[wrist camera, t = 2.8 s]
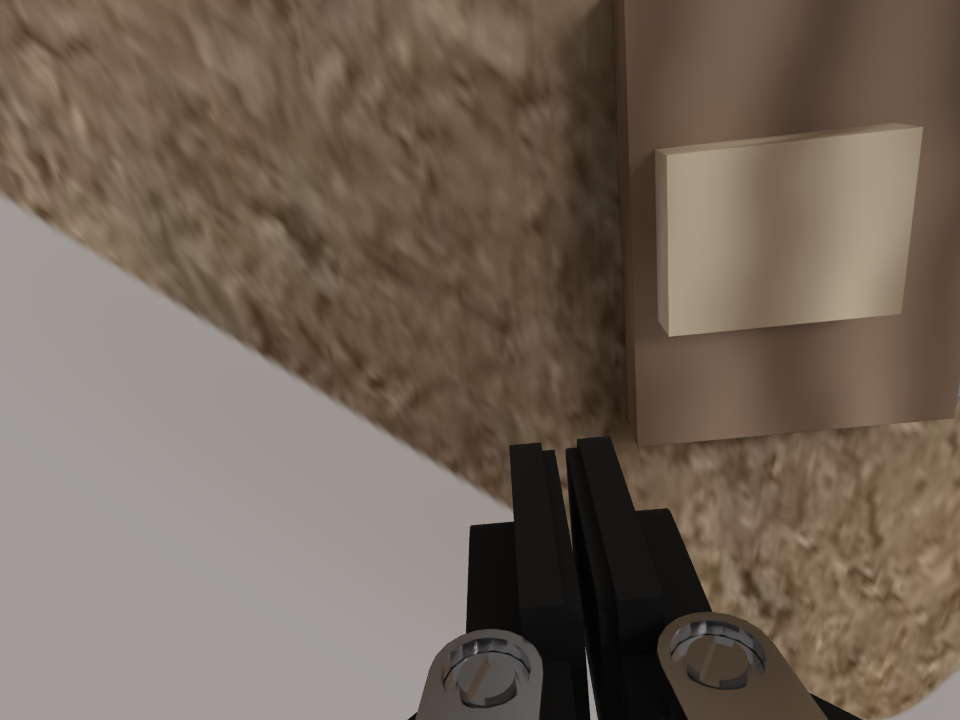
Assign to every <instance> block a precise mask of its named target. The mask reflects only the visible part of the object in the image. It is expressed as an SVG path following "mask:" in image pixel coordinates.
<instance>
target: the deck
mask: <svg viewBox="0 0 960 720" xmlns="http://www.w3.org/2000/svg"><path fill="white" fill-rule="evenodd" d="M613 20H614V48H615V76H616V103H617V131H618V159H619V187H620V215H621V243H622V270H623V298H624V326H625V354H626V382H627V410H628V423H629V426H630V428H631V431H632V433H633V436H634V438H635V441H636V443H637V446H638V447H642V446H653V445H664V444H675V443H686V442H697V441H708V440H719V439H730V438H741V437H752V436H763V435H774V434H785V433H796V432H807V431H818V430H829V429H840V428H851V427H862V426H873V425H885V424H896V423H907V422H918V421H929V420H940V419H951V418H955V411H956V405H957V399H958V392H959V386H960V0H613ZM888 123H898V124H906V125H913V126H921V127H923V133H922V141H921V150H920V159H919V167H918V176H917V184H916V193H915V201H914V210H913V218H912V227H911V235H910V244H909V252H908V261H907V270H906V278H905V287H904V295H903V304H902V312H901V314H895V315H885V316H875V317H865V318H855V319H844V320H834V321H824V322H814V323H804V324H793V325H783V326H773V327H763V328H753V329H742V330H732V331H722V332H712V333H702V334H691V335H681V336H671V337H669V336H668V335H667V333H666V332H665V330H664V329H663V327H662V326H661V324H660V323H659V321H658V298H657V240H656V183H655V149H663V148H672V147H681V146H690V145H699V144H708V143H717V142H726V141H735V140H744V139H753V138H762V137H771V136H780V135H789V134H798V133H807V132H816V131H825V130H834V129H843V128H852V127H861V126H870V125H879V124H888Z"/></svg>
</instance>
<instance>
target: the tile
mask: <svg viewBox="0 0 960 720" xmlns="http://www.w3.org/2000/svg"><path fill="white" fill-rule="evenodd" d="M922 133H923V127H921V126H913V125H906V124H898V123H888V124H879V125H870V126H861V127H852V128H843V129H834V130H825V131H816V132H807V133H798V134H789V135H780V136H771V137H762V138H753V139H744V140H735V141H726V142H717V143H708V144H699V145H690V146H681V147H672V148H663V149H655V183H656V240H657V298H658V321H659V323H660V324H661V326H662V327H663V329H664V330H665V332H666V333H667V335H668V336H669V337H671V336H681V335H691V334H702V333H712V332H722V331H732V330H742V329H753V328H763V327H773V326H783V325H793V324H804V323H814V322H824V321H834V320H844V319H855V318H865V317H875V316H885V315H895V314H901V312H902V304H903V295H904V287H905V278H906V270H907V261H908V252H909V244H910V235H911V227H912V218H913V210H914V201H915V193H916V184H917V176H918V167H919V159H920V150H921V141H922Z"/></svg>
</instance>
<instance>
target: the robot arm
mask: <svg viewBox="0 0 960 720" xmlns="http://www.w3.org/2000/svg"><path fill="white" fill-rule="evenodd" d="M509 447H510V464H511V480H512V496H513V513H514V522H505V523H493V524H483V525H471V527H470V537H469V565H468V566H469V567H468V594H467V620H466V634H464V635H461V636H459V637H458V638H456V639H454V640H453V641H451V642H449V643H448V644H447V645H446V646H445V647H444V648H443V649H442V650H441V651H440V652H439V653H438V654H437V655H436V657H435V659H434V661H433V663H432V665H431V667H430V669H429V673H428V677H427V680H426V684H425V687H424V691H423V694H422V698H421V701H420V705H419V709H418V712H417V713H415V714H414V715H413V716H412V717H411V718H409V719H408V720H590V709H589V695H588V680H587V667H586V653H587V658H588V664H589V670H590V676H591V682H592V687H593V693H594V699H595V705H596V711H597V717H598V720H862V719H860V718H858V717H856V716H854V715H852V714H850V713H848V712H846V711H844V710H842V709H840V708H838V707H836V706H834V705H832V704H831V703H829V702H827V701H825V700H823V699H821V698H819V697H817V696H815V695H813V694H811V693H809V692H808V691H807V689H806V688H805V686H804V685H803V684H802V682H801V681H800V679H799V678H798V677H797V675H796V674H795V672H794V671H793V670H792V668H791V667H790V665H789V664H788V663H787V661H786V660H785V658H784V657H783V656H782V654H781V653H780V651H779V650H778V649H777V647H776V646H775V644H774V643H773V642H772V641H771V640H770V639H769V638H768V637H767V635H766V634H765V633H764V632H763V631H762V630H760V629H759V628H757V627H756V626H754V625H752V624H751V623H749V622H748V621H746V620H743V619H740V618H738V617H735V616H732V615H729V614H723V613H716V612H712V610H711V607H710V605H709V603H708V600H707V598H706V595H705V593H704V591H703V588H702V586H701V583H700V581H699V579H698V576H697V574H696V571H695V569H694V567H693V564H692V562H691V559H690V557H689V555H688V552H687V550H686V547H685V545H684V543H683V540H682V538H681V535H680V533H679V531H678V528H677V526H676V523H675V521H674V519H673V516H672V514H671V512H670V510H669V509H667V508H665V509H653V510H642V511H635V509H634V506H633V503H632V500H631V497H630V494H629V491H628V488H627V485H626V482H625V479H624V476H623V473H622V470H621V467H620V464H619V461H618V458H617V455H616V452H615V450H614V447H613V444H612V441H611V438H610V436H606V437H595V438H584V439H577V448H568V449H566V466H567V479H568V493H569V506H570V520H571V533H572V545H571V539H570V534H569V528H568V522H567V517H566V511H565V506H564V500H563V495H562V489H561V483H560V478H559V472H558V467H557V461H556V455H555V450H546V451H542V446H541V443H530V444H519V445H510V446H509ZM572 547H573V550H572ZM585 647H586V652H585Z"/></svg>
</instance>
